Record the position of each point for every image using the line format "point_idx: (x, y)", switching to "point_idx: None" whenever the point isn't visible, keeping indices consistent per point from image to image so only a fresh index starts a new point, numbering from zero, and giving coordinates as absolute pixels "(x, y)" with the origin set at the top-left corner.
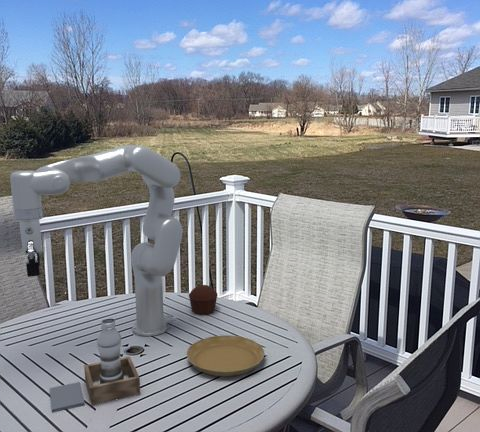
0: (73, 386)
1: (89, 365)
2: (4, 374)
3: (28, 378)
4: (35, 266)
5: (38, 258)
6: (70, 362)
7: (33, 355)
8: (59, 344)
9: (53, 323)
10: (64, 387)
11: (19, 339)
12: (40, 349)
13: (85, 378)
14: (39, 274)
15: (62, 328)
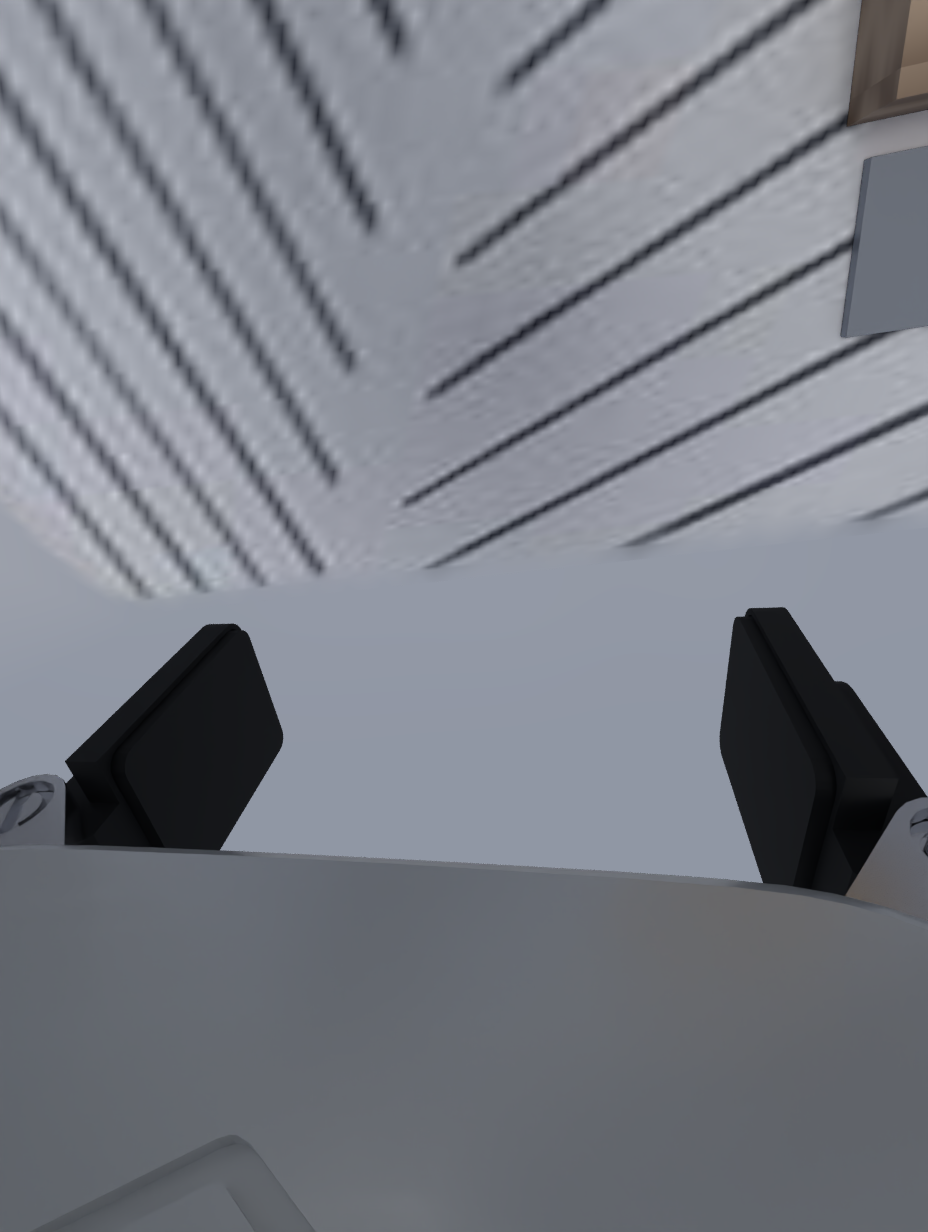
0: (905, 196)
1: (921, 50)
2: (584, 551)
3: (663, 452)
4: (907, 770)
5: (182, 701)
6: (573, 248)
7: (440, 453)
8: (345, 334)
9: (100, 390)
10: (886, 253)
11: (269, 530)
12: (385, 427)
13: (899, 109)
14: (785, 609)
15: (157, 334)
